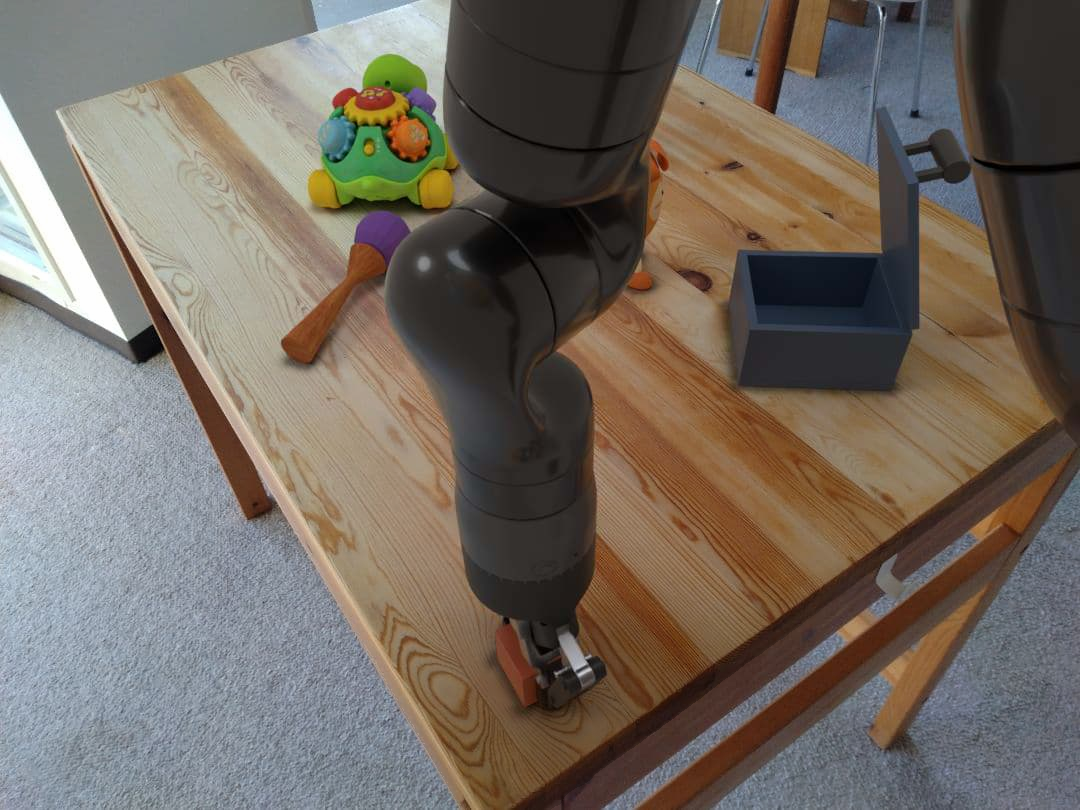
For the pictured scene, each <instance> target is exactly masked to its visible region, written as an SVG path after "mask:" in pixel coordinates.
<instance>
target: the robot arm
mask: <svg viewBox="0 0 1080 810" xmlns="http://www.w3.org/2000/svg"><path fill="white" fill-rule="evenodd" d="M701 3H702V0H450V5H449V6H450V7H449V16H448V27H447V40H446V51H445V63H444V73H443V84H442V85H443V87H442V120H443V121H442V122H443V127H444V133H446V137H447V141H448V144H449V146H450V149H451V151H452V153H453V155H454V157H455V159H456V160H457V162H458V165H459V166H460V168H461V169H462V170H463V171H464V172H465V173H466V175H467V176H468V177H469V178H470V179H472V181H474V182H475V183H476V184H477V185H478V186H480V187H481V188H482V189H480V190H479V191H477V192H475V193H474V194H472V195H469V196H468V197H466V198H465V199H464V200H462V201H460V202H459V203H456V204H455V205H454V206H452V207H450V208H449V209H447V210H445V211H442V212H440V213H439V214H437V215H436V216H434V217H431V219H429V220H427V221H426V222H424V223H422V224H421V225H419V226H418V227H416V228H414V229H413V230H412V231H411V233H410V234H408V235H407V236H406V237H405V238H404V239H403V240H402V241H401V243H400V244H399V245H398V247H397V248H396V250H395V252H394V254H393V256H392V258H391V260H390V263H389V266H388V269H386V274H385V279H384V286H383V287H384V288H383V289H384V290H383V301H384V302H383V303H384V311H385V313H386V317H387V320H388V323H389V325H390V327H391V330H392V331H393V333H394V335H395V337H396V339H397V341H398V343H399V344H400V346H401V347H402V349H403V350H404V352H405V354H406V356H408V358H409V360H410V361H411V363H412V365H414V367H415V369H416V370H417V372H418V374H419V375H420V377H421V378H422V380H423V382H424V384H425V386H426V388H427V390H428V391H429V393H430V395H431V397H432V399H433V401H434V403H435V405H436V407H437V409H438V411H439V413H440V415H441V417H442V419H443V421H444V423H445V425H446V428H447V431H448V437H449V443H450V444H449V445H450V451H451V452H450V453H451V458H452V464H453V470H454V474H455V475H454V476H455V477H454V479H455V480H454V507H455V517H456V522H457V527H458V534H459V541H460V545H461V551H462V558H463V565H464V572H465V577H466V581H467V584H468V586H469V588H470V590H471V592H472V593H473V595H474V596H475V598H476V599H477V600H478V601H479V602H480V603H481V604H482V605H483V606H485V607H486V608H487V609H488V610H490V611H492V612H493V613H495V614H496V616H497V617H499V618H500V619H501V624H502V627H503V626H505V625H507V624H509V623H511V625H512V627H513V628H514V630H515V631H516V633H517V635H518V640H519V644H520V648H521V652H522V655H523V656H524V657H525V659H526V660H527V662H528V663H529V665H530V666H531V668H533V669H534V674H535V685H536V698H537V699H538V701H537V702H538V703H539V705H540V706H541V707H543V708H544V707H546V706H548V708H549V709H551V708H553V707H555V708H556V709H559V708H560V707H562V706H564V705H566V704H568V703H571V701H573V700H575V699H577V698H579V697H581V696H582V695H584V694H586V693H588V692H589V691H591V690H592V689H593V688H595V687H596V686H597V685H598V684H599V683H600V682H601V681H602V680H603V679H605V678H606V677H607V676H608V671H607V667H606V666H607V665H606V664H605V662H604V661H603V660H602V659H601V657H599V656H598V655H595V656H593V655H592V654H591V653H590V652H587V653H585V654H584V653H583V651H582V650H581V647H580V646H579V643H580V639H579V634H580V624H579V620H578V617H577V610H578V609H577V607H578V605H579V604H580V602H581V600H582V599H583V597H584V596H585V594H586V593H587V592H588V590H589V588H590V585H591V583H592V581H593V577H594V574H595V569H596V547H597V546H596V545H597V543H596V542H597V514H598V488H597V482H596V475H595V469H594V465H595V464H594V461H595V458H594V457H595V435H596V434H595V432H596V431H595V425H596V423H595V402H594V396H593V392H592V388H591V384H590V383H589V381H588V379H587V376H586V374H585V373H584V372H583V370H582V368H581V367H580V366H579V365H578V364H577V363H576V362H574V360H572V359H571V358H570V357H568V356H566V355H565V354H563V353H561V352H560V351H558V350H559V349H560V348H561V347H563V346H564V345H566V344H567V343H568V342H569V341H571V340H572V339H574V337H575V336H577V335H578V334H579V333H580V332H582V331H583V330H584V329H586V328H587V327H589V326H591V324H593V323H594V322H595V321H596V320H598V319H599V318H601V316H603V315H604V314H605V313H606V312H607V311H609V310H610V309H611V308H612V307H613V306H614V305H615V304H616V302H617V301H618V300H619V299H620V298H621V296H622V295H623V293H624V292H625V290H626V288H627V287H628V286H627V285H628V284H629V282H630V280H631V278H632V276H633V275H634V273H635V271H636V268H637V266H638V264H639V261H640V259H641V260H642V256H643V252H644V249H645V243H646V239H645V237H646V227H647V212H648V196H649V187H650V151H651V149H650V141H651V139H653V136H654V134H655V131H656V129H657V126H658V124H659V121H660V119H661V116H662V114H663V112H664V108H665V106H666V102H667V99H668V97H669V94H670V92H671V88H672V86H673V83H674V80H675V77H676V74H677V71H678V69H679V65H680V63H681V59H682V58H683V55H684V52H685V48H686V45H687V43H688V39H689V36H690V34H691V31H692V29H693V25H694V23H695V20H696V16H697V14H698V12H699V8H700V5H701ZM951 36H952V37H951V39H952V56H953V57H952V58H953V68H954V78H955V85H956V93H957V100H958V105H959V106H958V107H959V113H960V119H961V124H962V126H961V127H962V131H963V137H964V145H965V149H966V151H967V152H968V154H969V155H968V162H969V164H970V166H971V175H972V179H973V183H974V187H975V192H976V197H977V201H978V205H979V210H980V214H981V218H982V223H983V227H984V231H985V236H986V241H987V245H988V248H989V254H990V258H991V261H992V266H993V270H994V274H995V279H996V283H997V286H998V291H999V296H1000V300H1001V303H1002V307H1003V311H1004V315H1005V319H1006V321H1007V324H1008V327H1009V331H1010V333H1011V337H1012V340H1013V343H1014V346H1015V349H1016V351H1017V353H1018V356H1019V359H1020V361H1021V363H1022V367H1023V368H1024V371H1025V373H1026V374H1027V376H1028V378H1029V379H1030V382H1031V383H1032V385H1033V387H1034V389H1035V391H1036V392H1037V394H1038V395H1039V397H1040V398H1041V400H1042V401H1043V402H1044V404H1045V405H1046V407H1047V408H1048V410H1049V411H1050V412H1051V414H1052V415H1053V416H1054V419H1056V420H1057V422H1058V423H1059V425H1060V426H1061V428H1062V429H1063V431H1064V432H1065V433H1066V434H1067V435H1068V436H1069V438H1070V439H1072V441H1073V442H1074V443H1075V444H1076V445H1077V446H1078V447H1079V448H1080V0H951ZM558 656H561V657H560V658H558V659H556V660H554V661H552V662H550V663H549V664H547V663H548V662H549V661H551V660H553V659H555V658H557V657H558ZM546 664H547V665H546Z"/></svg>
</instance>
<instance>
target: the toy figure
mask: <svg viewBox="0 0 1080 810" xmlns="http://www.w3.org/2000/svg"><path fill="white" fill-rule="evenodd" d="M651 150H652V151H654V152H656V157H655V156H654V154H653V152H652V151H651ZM669 163H670V162H669V159H668V157H667V154H666V152H665V150H664V148H663V147H662V145H661V144H660V142H658V141H657V140H655V139H653V138H651V141H650V187H649V196H648V212H647V227H646V237H645V240H646V239H647V238H648V237H649V236H650V235H651V233H652V231H653V230H654V228H655V226H656V224H657V223H658V220H659V217H660V214H661V211H662V206H663V199H664V193H665V192H664V184H663V176H662V173H661V171H662V172H667V171H668V169H669V166H670V164H669ZM642 261H643V260H642V258H641V259H640V261H639V264H638V266H637V268H636V271H635V273H634V275H633V276H632V278H631V280H630V282H629V284H628V285H627V287H629V288H632V289H635V290H641V291H642V290H648V289H650V288H651V287H652V285H653V280H652V277H651V275H650V274H649V273H647V272H645V271H642V270H643V267H642V266H643V264H642V263H643V262H642Z"/></svg>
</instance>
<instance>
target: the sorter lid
mask: <svg viewBox="0 0 1080 810" xmlns="http://www.w3.org/2000/svg"><path fill="white" fill-rule="evenodd" d="M894 124H895V123H894V122H893V120H892V117H891V115H890V113H889V110H888V109H887V106H882V107H881V106H880V107H877V108H876V109H875V125H876V143H877V144H876V148H877V151H876V152H877V172H878V174H877V175H878V196H879V197H878V198H879V200H878V201H879V220H880V244H881V245H880V246H881V249H880V250H881V253H883V255H884V258H885V261H886V264H887V267H888V270H889V272H890V275H891V278H892V281H893V284H894V287H895V290H896V293H897V295H898V298H899V301H900V304H901V307H902V310H903V313H904V316H905V318H906V321H907V324H908V327H909V330H911V331H915V330H920V329H921V328H920V323H921V322H920V184H923V183H927V182H932V181H937V180H942V179H943V180H944V182H945V183H947V184H950V185H955V184H960V183H962V182H964V181H965V180H967V179H968V177H969V176H970V175H971V173H972V171H971V166H970V162H969V159H968V157H967V156H966V154H965V152H964V151H963V148H962V147H961V145H960V143H959V141H958V140H957V137H956V136H955V134H954V132H953V130H951V129H949V128H939V129H937V130H934V131H933V132H932V133H931V134H930V135H929V137H928V139H926V140H923V141H918V142H914V143H909V144H905V145H903V142H902V140H901V137H900V136H899V134H898V131H897V129H896V126H895V125H894ZM929 152H930V154H931V156H932V158H933V160H934V162H935V165H936V166H935V167H930V168H927V169H922V170H917V171H915V170H914V167H913V164H912V163H911V160H910V158H909V157H913V156H916V155H921V154H924V153H929Z"/></svg>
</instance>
